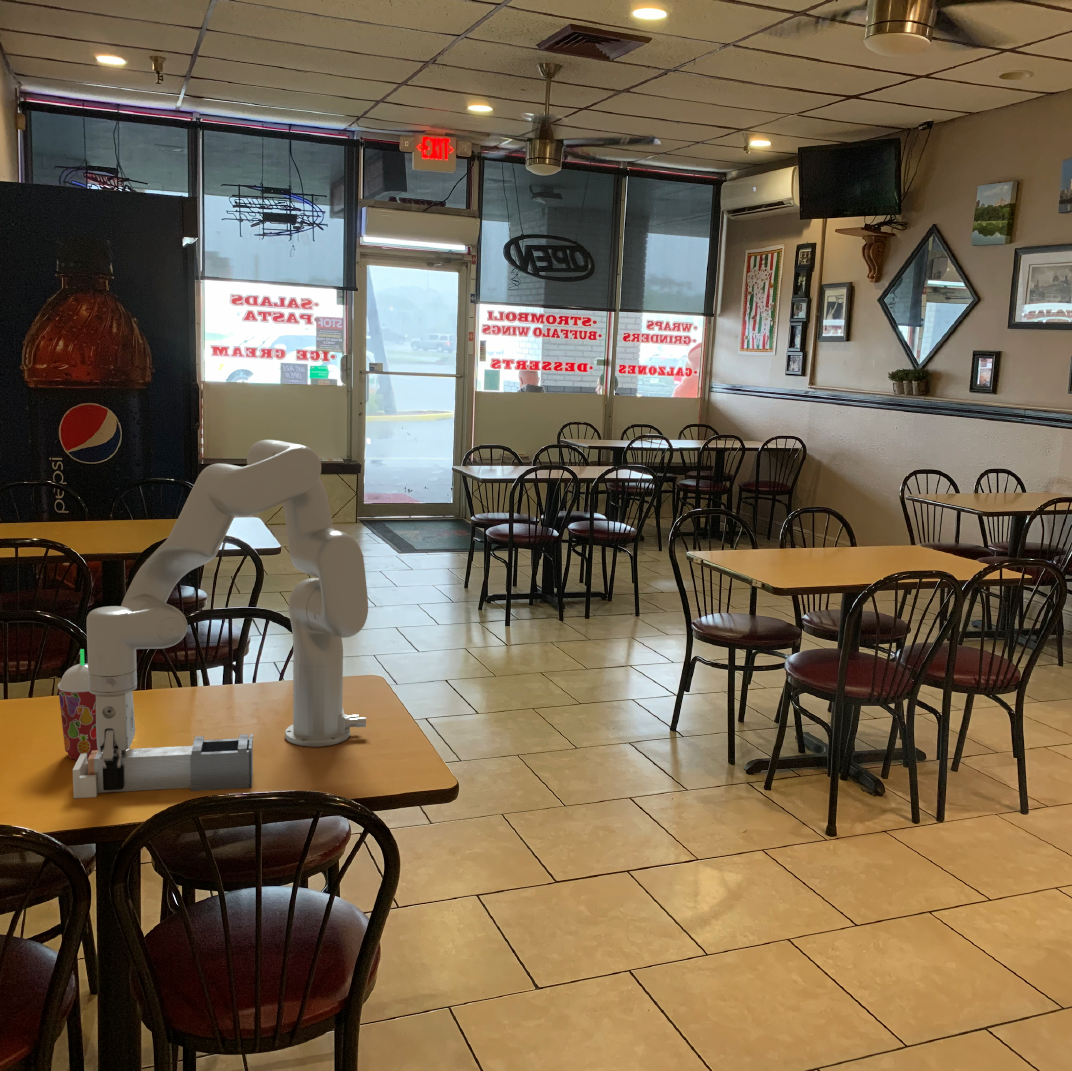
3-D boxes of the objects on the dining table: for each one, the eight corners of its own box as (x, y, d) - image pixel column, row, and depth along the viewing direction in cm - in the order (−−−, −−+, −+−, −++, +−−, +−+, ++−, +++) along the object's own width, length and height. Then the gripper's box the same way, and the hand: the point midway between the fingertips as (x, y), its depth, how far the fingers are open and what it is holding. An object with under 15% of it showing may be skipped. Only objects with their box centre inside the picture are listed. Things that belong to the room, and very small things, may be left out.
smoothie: (116, 746, 192) (114, 644, 189) (99, 763, 184) (96, 656, 181) (71, 745, 192) (68, 642, 189) (52, 762, 184) (48, 655, 180)
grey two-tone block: (199, 777, 180) (199, 745, 179) (198, 787, 176) (197, 753, 175) (92, 783, 175) (91, 750, 174) (88, 793, 172) (87, 759, 171)
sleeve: (252, 772, 183) (252, 733, 182) (251, 787, 177) (251, 747, 175) (194, 775, 181) (193, 736, 180) (190, 791, 174) (190, 750, 173)
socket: (103, 779, 177) (102, 752, 176) (96, 796, 170) (95, 768, 170) (81, 780, 176) (80, 753, 176) (73, 798, 170) (72, 769, 169)
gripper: (129, 695, 164) (132, 802, 167) (143, 665, 180) (145, 763, 183) (79, 697, 162) (83, 805, 165) (97, 666, 178) (100, 765, 181)
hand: (115, 782), depth 174 cm, fingers closed on grey two-tone block, 4 cm apart
